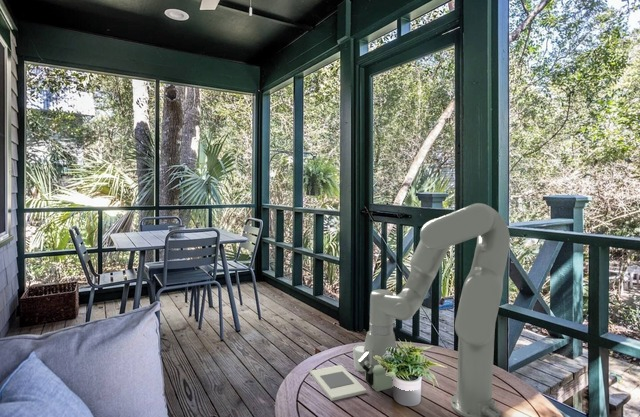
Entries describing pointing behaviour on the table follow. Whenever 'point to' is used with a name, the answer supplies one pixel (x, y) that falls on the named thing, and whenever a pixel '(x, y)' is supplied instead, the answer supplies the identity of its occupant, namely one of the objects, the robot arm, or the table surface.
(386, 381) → the sage block
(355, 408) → the table surface
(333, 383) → the cream flat rectangular slab
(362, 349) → the white cylinder
